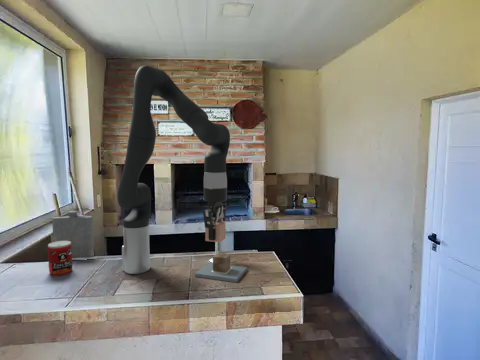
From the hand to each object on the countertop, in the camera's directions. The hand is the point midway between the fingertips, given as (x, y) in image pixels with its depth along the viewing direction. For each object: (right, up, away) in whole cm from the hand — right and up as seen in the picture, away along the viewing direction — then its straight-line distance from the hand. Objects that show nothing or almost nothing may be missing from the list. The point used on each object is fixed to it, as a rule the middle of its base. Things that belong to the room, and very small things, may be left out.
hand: (215, 237), depth 103 cm
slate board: (+1, -16, +14) cm, 21 cm away
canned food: (-59, -16, +16) cm, 64 cm away
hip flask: (-63, -15, +33) cm, 73 cm away
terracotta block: (0, -1, 0) cm, 1 cm away
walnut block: (+1, -15, +14) cm, 20 cm away
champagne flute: (-2, -15, +28) cm, 32 cm away
